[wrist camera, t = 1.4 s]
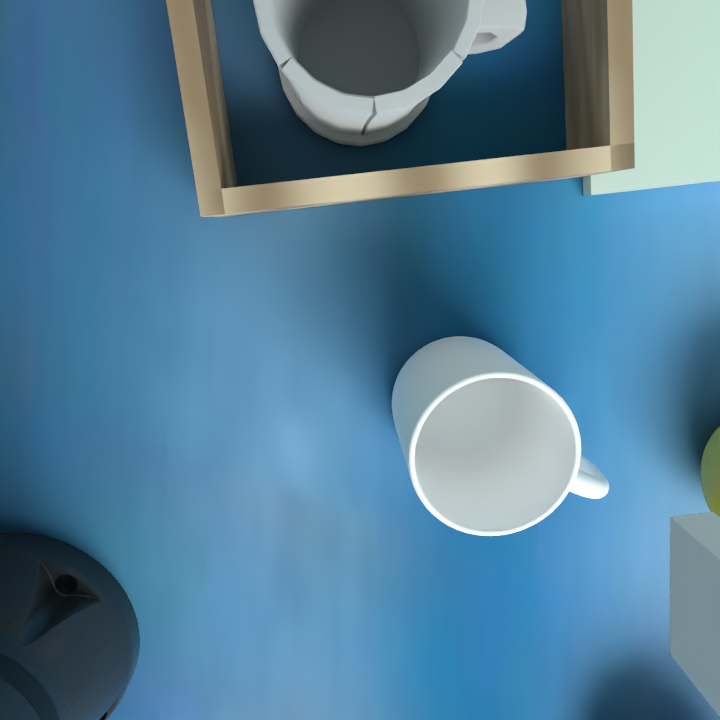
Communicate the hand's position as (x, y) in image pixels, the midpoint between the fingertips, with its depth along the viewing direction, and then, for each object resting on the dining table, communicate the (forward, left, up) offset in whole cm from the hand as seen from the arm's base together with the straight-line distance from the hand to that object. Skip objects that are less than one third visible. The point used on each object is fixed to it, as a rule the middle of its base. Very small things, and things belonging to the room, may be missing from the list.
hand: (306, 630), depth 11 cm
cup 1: (+4, +16, -29) cm, 33 cm away
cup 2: (+9, -6, -29) cm, 31 cm away
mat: (+22, +12, -29) cm, 38 cm away
